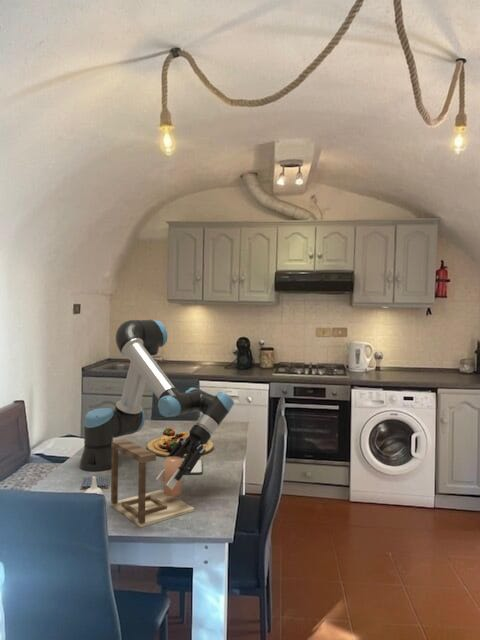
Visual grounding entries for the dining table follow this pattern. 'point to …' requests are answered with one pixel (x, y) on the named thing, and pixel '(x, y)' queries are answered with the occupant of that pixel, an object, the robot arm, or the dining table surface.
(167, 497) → the wooden c-frame stand
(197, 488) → the dining table surface
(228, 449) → the dining table surface
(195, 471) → the phone case
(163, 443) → the wooden plate with food
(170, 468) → the tan cylinder
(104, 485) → the woven mat
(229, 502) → the dining table surface
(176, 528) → the dining table surface
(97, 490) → the garlic bulb
